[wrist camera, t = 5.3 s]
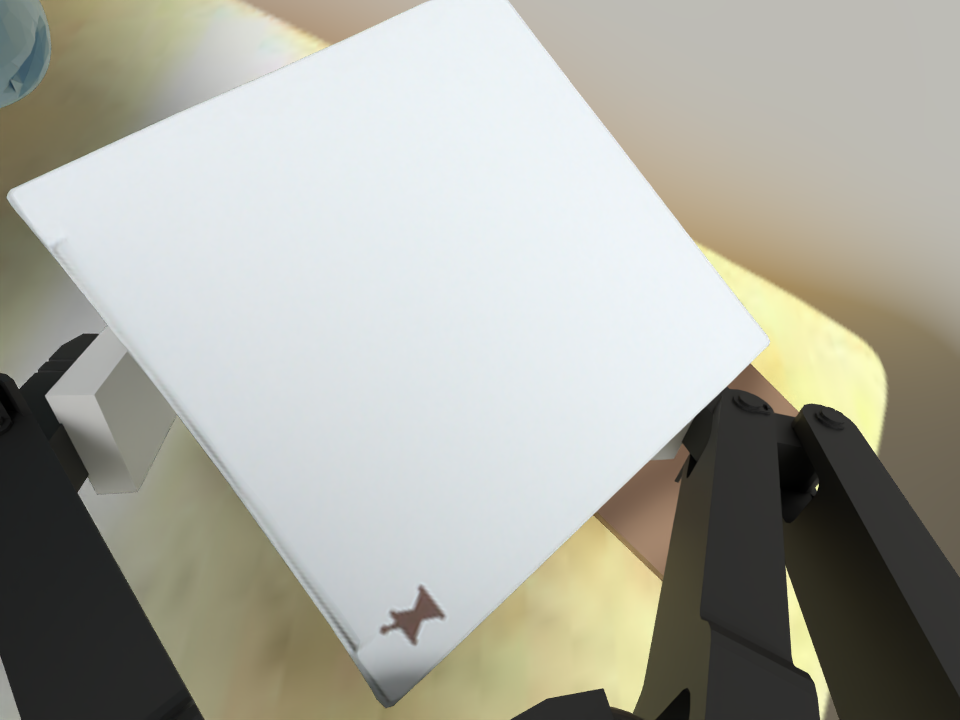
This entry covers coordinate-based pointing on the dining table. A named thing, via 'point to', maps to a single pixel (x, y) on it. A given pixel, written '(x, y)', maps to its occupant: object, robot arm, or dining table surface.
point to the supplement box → (403, 313)
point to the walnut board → (667, 489)
